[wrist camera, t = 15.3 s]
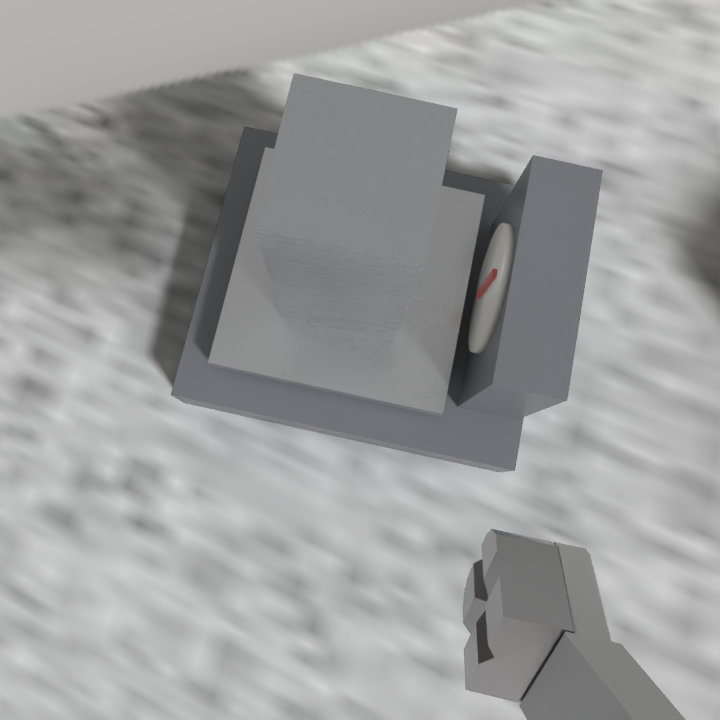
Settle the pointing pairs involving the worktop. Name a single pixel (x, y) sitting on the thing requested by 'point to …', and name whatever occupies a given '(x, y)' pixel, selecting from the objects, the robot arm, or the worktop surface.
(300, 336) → the pan
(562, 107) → the worktop surface
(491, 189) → the scale
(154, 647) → the worktop surface
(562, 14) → the worktop surface
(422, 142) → the block
